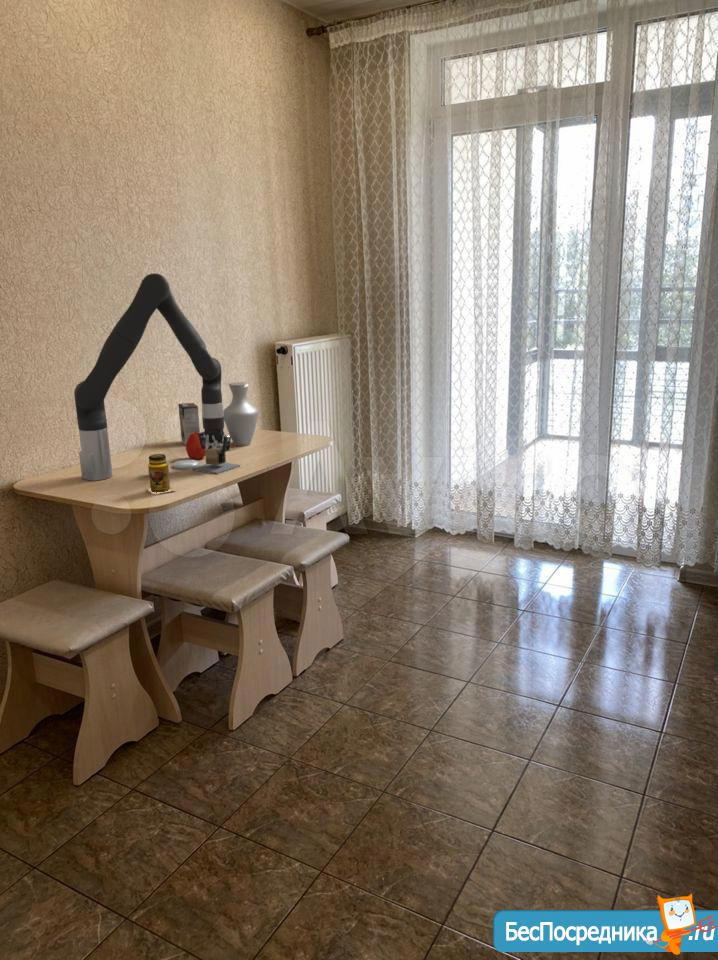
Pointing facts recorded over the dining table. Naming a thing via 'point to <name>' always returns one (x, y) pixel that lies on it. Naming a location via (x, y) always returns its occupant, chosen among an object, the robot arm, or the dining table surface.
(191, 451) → the red egg
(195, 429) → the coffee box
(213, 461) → the walnut block
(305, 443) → the dining table surface
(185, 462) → the saucer
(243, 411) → the vase
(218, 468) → the slate pad
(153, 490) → the condiment
